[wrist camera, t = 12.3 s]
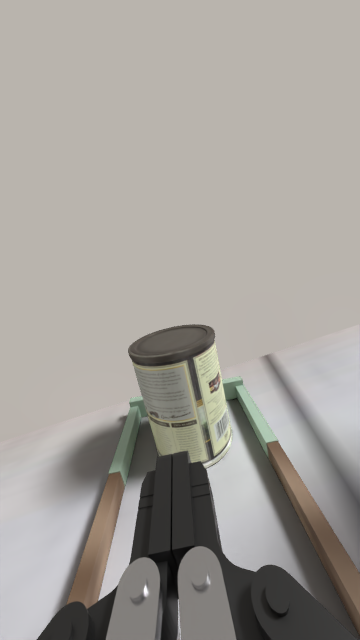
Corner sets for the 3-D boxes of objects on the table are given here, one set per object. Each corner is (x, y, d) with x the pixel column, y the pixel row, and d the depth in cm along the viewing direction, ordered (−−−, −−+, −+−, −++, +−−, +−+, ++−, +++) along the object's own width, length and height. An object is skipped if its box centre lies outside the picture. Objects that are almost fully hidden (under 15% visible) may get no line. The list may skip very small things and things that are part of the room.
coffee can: (165, 413, 34) (144, 330, 31) (229, 408, 32) (214, 319, 29) (144, 473, 24) (111, 361, 21) (236, 472, 22) (214, 347, 19)
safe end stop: (280, 456, 23) (277, 433, 22) (113, 488, 23) (106, 466, 22) (242, 392, 35) (240, 376, 34) (134, 413, 35) (130, 398, 35)
